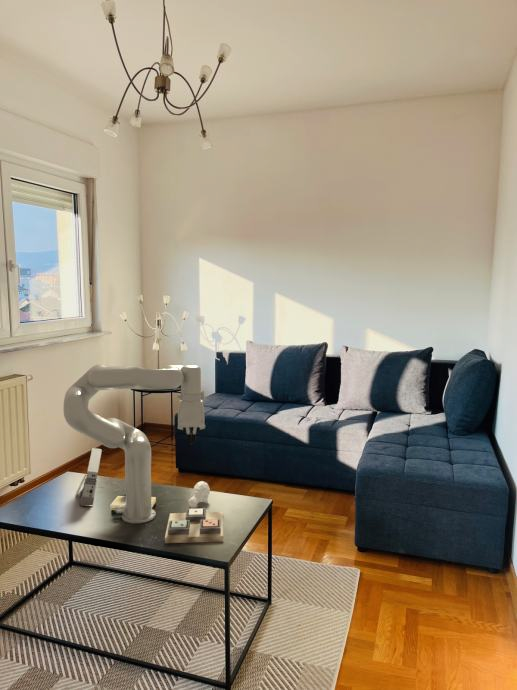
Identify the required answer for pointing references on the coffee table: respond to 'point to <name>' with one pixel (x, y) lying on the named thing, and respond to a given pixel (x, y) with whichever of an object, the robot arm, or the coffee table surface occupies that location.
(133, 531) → the coffee table surface
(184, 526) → the tile sage
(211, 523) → the tile terracotta
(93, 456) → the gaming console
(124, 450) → the robot arm
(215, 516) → the tile board
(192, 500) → the white statuette
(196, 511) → the tile cream
